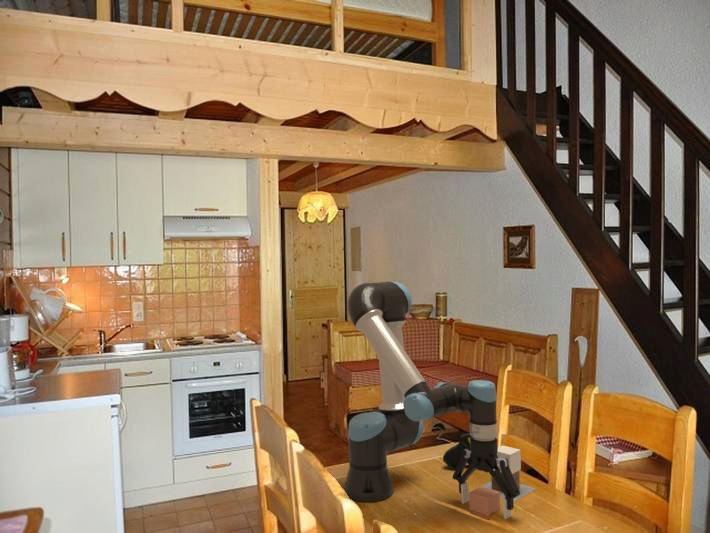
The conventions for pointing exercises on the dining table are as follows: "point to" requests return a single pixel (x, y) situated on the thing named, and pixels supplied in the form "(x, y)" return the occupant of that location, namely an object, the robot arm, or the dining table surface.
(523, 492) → the board
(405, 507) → the dining table surface
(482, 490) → the brick
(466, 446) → the taser
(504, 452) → the beige cube
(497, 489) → the brick
